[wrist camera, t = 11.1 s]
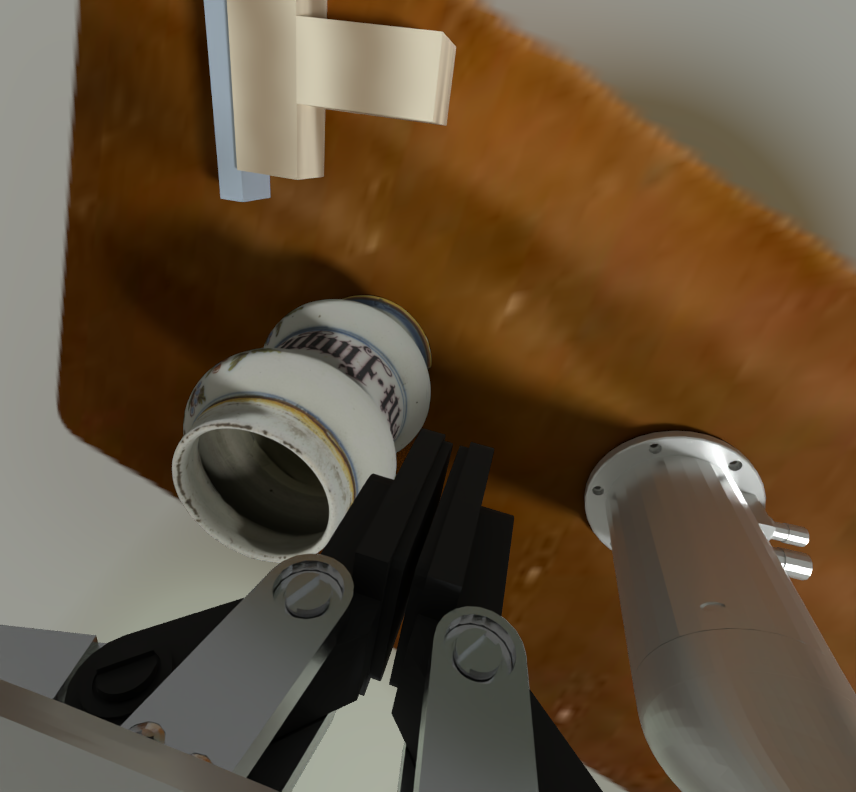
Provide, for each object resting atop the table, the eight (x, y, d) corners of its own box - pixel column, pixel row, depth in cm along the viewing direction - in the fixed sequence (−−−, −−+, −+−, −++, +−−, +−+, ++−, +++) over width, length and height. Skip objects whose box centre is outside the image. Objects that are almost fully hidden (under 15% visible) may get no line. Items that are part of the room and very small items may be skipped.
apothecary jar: (431, 437, 40) (356, 620, 24) (298, 401, 41) (146, 552, 26) (460, 299, 34) (385, 423, 19) (303, 263, 36) (112, 350, 20)
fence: (501, -120, 24) (494, -159, 21) (454, 226, 32) (444, 234, 29) (230, -135, 26) (189, -172, 23) (249, 194, 34) (220, 198, 31)
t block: (467, -44, 26) (454, -74, 22) (437, 194, 31) (423, 200, 28) (262, -62, 27) (221, -93, 24) (269, 168, 33) (237, 169, 30)
